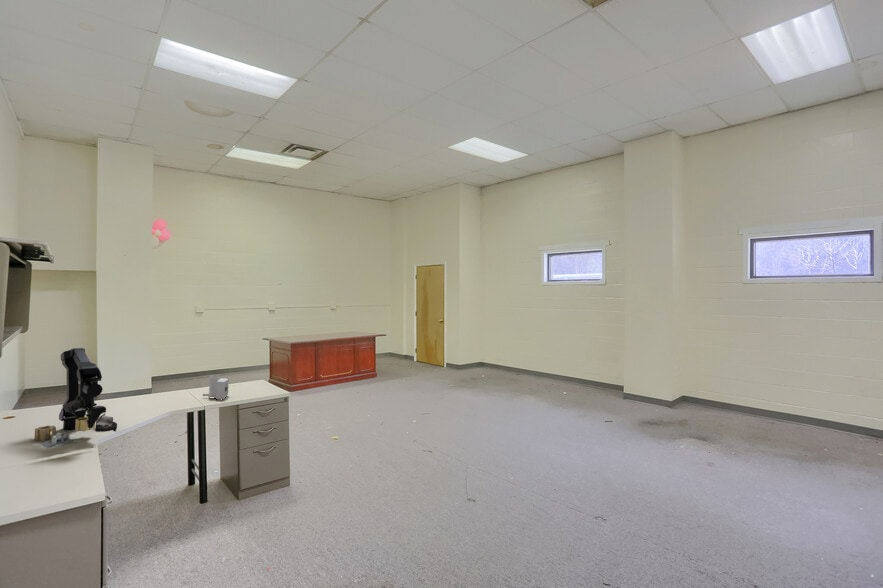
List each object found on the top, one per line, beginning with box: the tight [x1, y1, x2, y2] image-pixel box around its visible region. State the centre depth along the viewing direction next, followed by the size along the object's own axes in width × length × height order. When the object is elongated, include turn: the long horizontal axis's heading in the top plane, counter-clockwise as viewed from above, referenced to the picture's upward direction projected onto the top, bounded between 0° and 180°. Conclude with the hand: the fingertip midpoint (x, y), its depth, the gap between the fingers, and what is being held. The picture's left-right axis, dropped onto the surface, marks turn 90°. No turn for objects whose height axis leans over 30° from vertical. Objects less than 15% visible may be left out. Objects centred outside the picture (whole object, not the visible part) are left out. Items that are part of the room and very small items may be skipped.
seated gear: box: [34, 425, 57, 442], centre depth 198 cm, size 7×7×5 cm
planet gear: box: [74, 416, 96, 432], centre depth 202 cm, size 7×7×5 cm
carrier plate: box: [37, 436, 77, 449], centre depth 196 cm, size 18×10×5 cm, turn 55°
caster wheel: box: [95, 412, 118, 432], centre depth 217 cm, size 7×11×10 cm
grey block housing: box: [202, 374, 230, 400], centre depth 294 cm, size 12×14×15 cm
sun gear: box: [50, 431, 71, 442], centre depth 198 cm, size 6×6×2 cm
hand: (85, 426), depth 202 cm, fingers closed on planet gear, 7 cm apart
